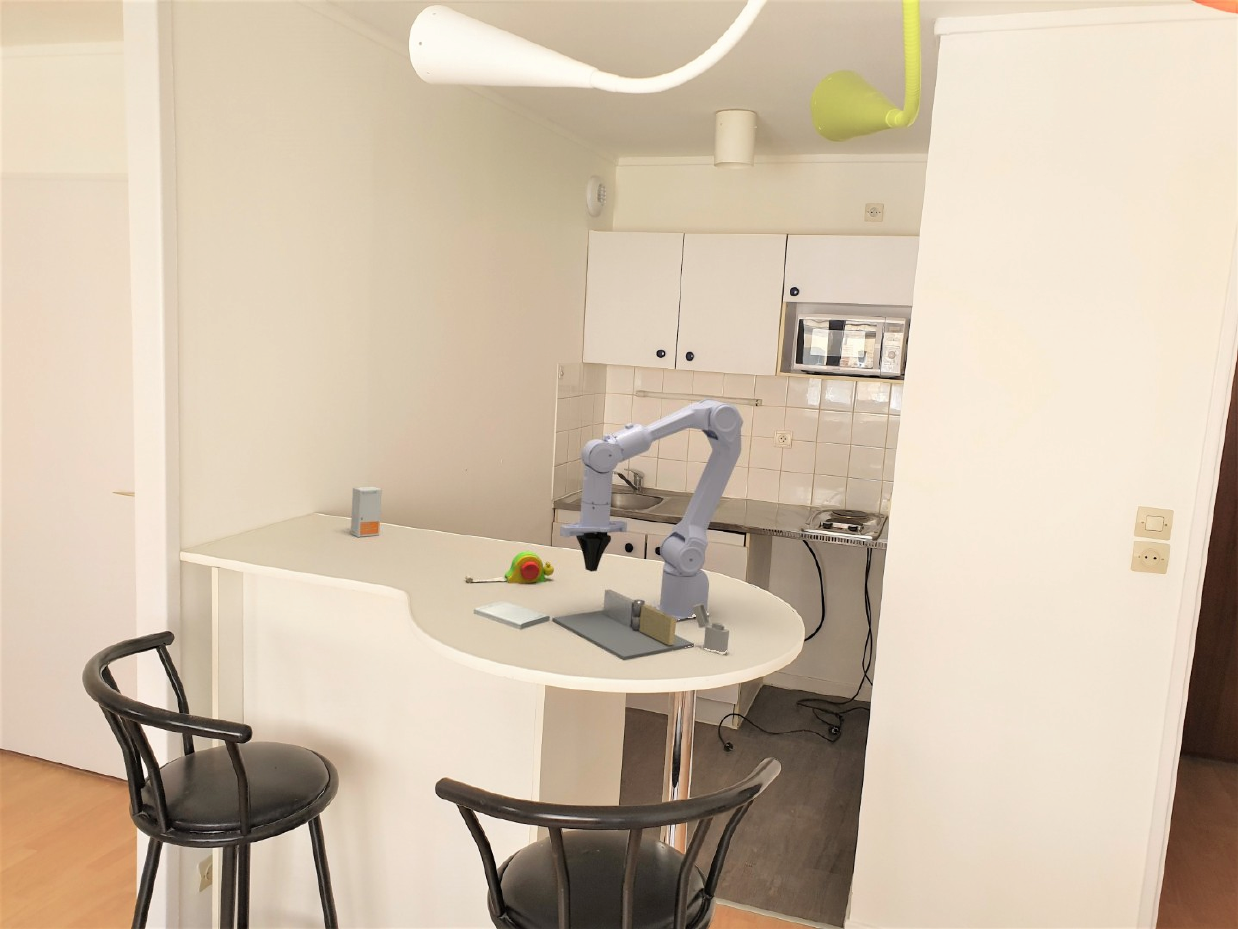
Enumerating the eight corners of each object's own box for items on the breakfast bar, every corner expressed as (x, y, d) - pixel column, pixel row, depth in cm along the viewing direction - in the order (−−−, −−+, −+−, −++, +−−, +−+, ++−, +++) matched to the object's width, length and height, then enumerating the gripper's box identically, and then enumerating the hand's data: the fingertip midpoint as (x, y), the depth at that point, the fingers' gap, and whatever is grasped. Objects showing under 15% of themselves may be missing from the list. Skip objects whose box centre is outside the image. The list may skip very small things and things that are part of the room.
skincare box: (357, 537, 232) (359, 490, 230) (350, 534, 235) (352, 487, 233) (380, 535, 236) (382, 489, 234) (372, 531, 239) (374, 486, 237)
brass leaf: (629, 627, 176) (631, 600, 176) (638, 626, 178) (640, 599, 177) (667, 645, 168) (669, 617, 167) (675, 644, 169) (678, 616, 168)
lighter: (727, 652, 169) (731, 610, 168) (722, 655, 168) (726, 612, 167) (694, 642, 173) (697, 601, 172) (689, 645, 172) (692, 603, 171)
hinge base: (618, 610, 189) (620, 583, 188) (693, 646, 171) (695, 617, 170) (552, 620, 180) (554, 592, 179) (623, 660, 162) (626, 629, 161)
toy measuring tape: (556, 585, 205) (558, 555, 204) (468, 586, 198) (469, 556, 197) (549, 576, 211) (551, 548, 210) (463, 578, 204) (464, 549, 203)
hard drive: (550, 615, 180) (503, 599, 187) (520, 624, 173) (473, 607, 180) (549, 623, 180) (503, 607, 187) (520, 632, 173) (473, 616, 181)
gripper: (576, 508, 173) (571, 579, 175) (638, 504, 182) (632, 571, 184) (556, 500, 179) (551, 569, 181) (616, 497, 187) (611, 562, 189)
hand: (591, 570), depth 183 cm, fingers closed
